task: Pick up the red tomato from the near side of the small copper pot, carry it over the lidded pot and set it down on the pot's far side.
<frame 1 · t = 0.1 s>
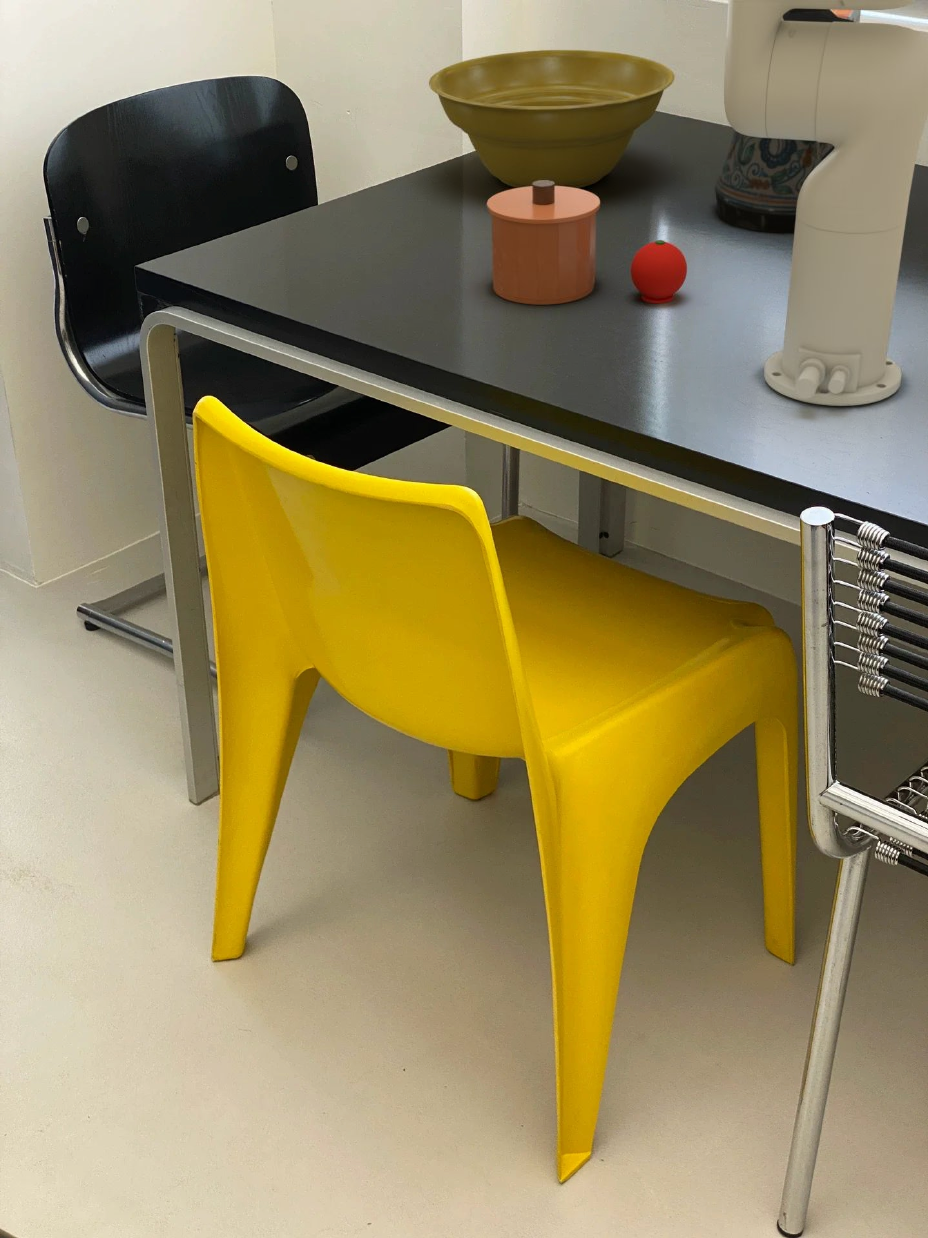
pot lid: (543, 206, 153), point 9 cm above the table, touching pot
tomato: (657, 297, 154), on the table
pot: (543, 286, 158), on the table
planter bowl: (550, 178, 194), on the table
cracker box: (818, 167, 195), on the table
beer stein: (791, 215, 177), on the table
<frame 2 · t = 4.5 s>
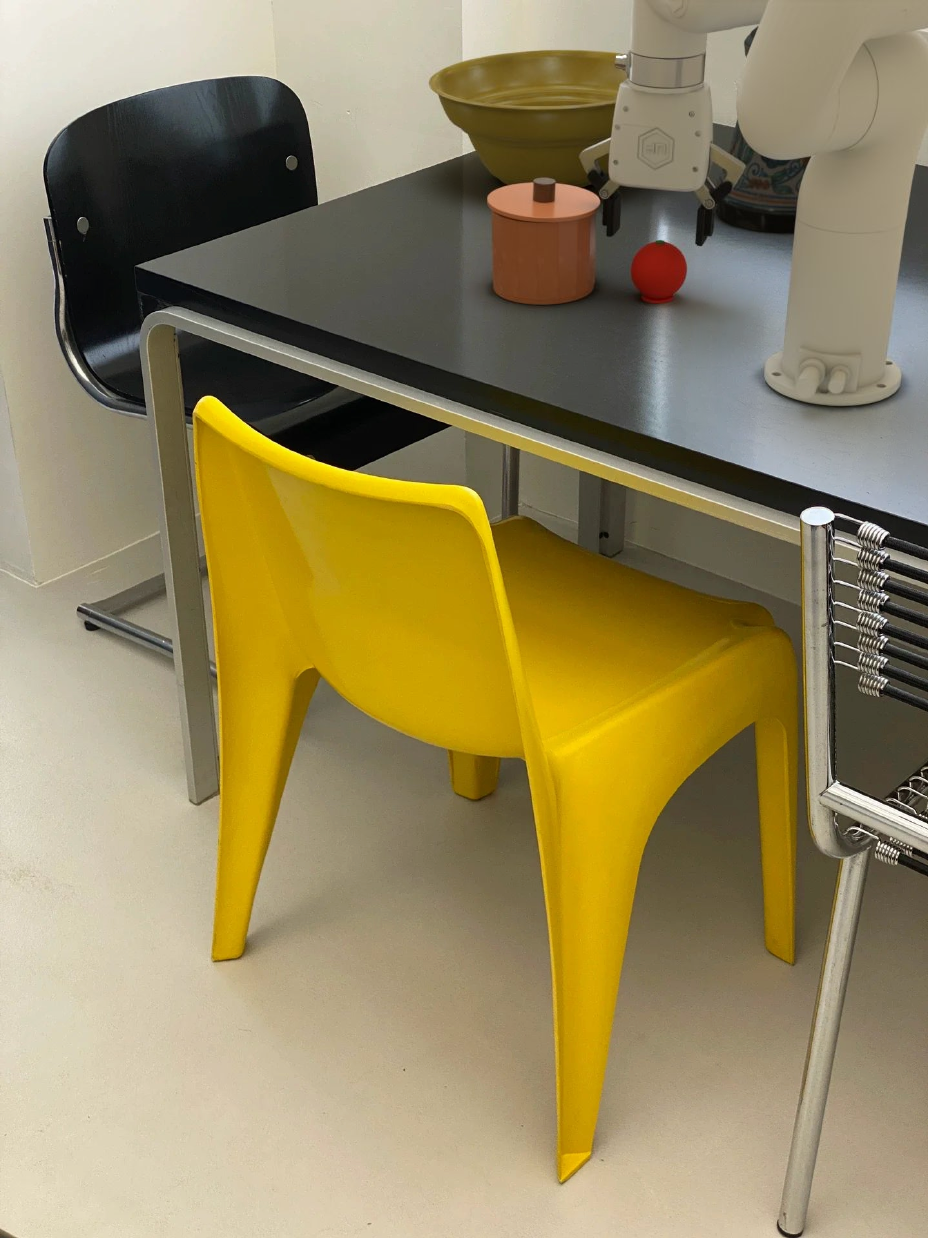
hand: (656, 237, 151), 7 cm above the table, tool pointing down, fingers open, 9 cm apart
pot lid: (543, 203, 153), point 9 cm above the table, touching gripper, pot
everything else where it was.
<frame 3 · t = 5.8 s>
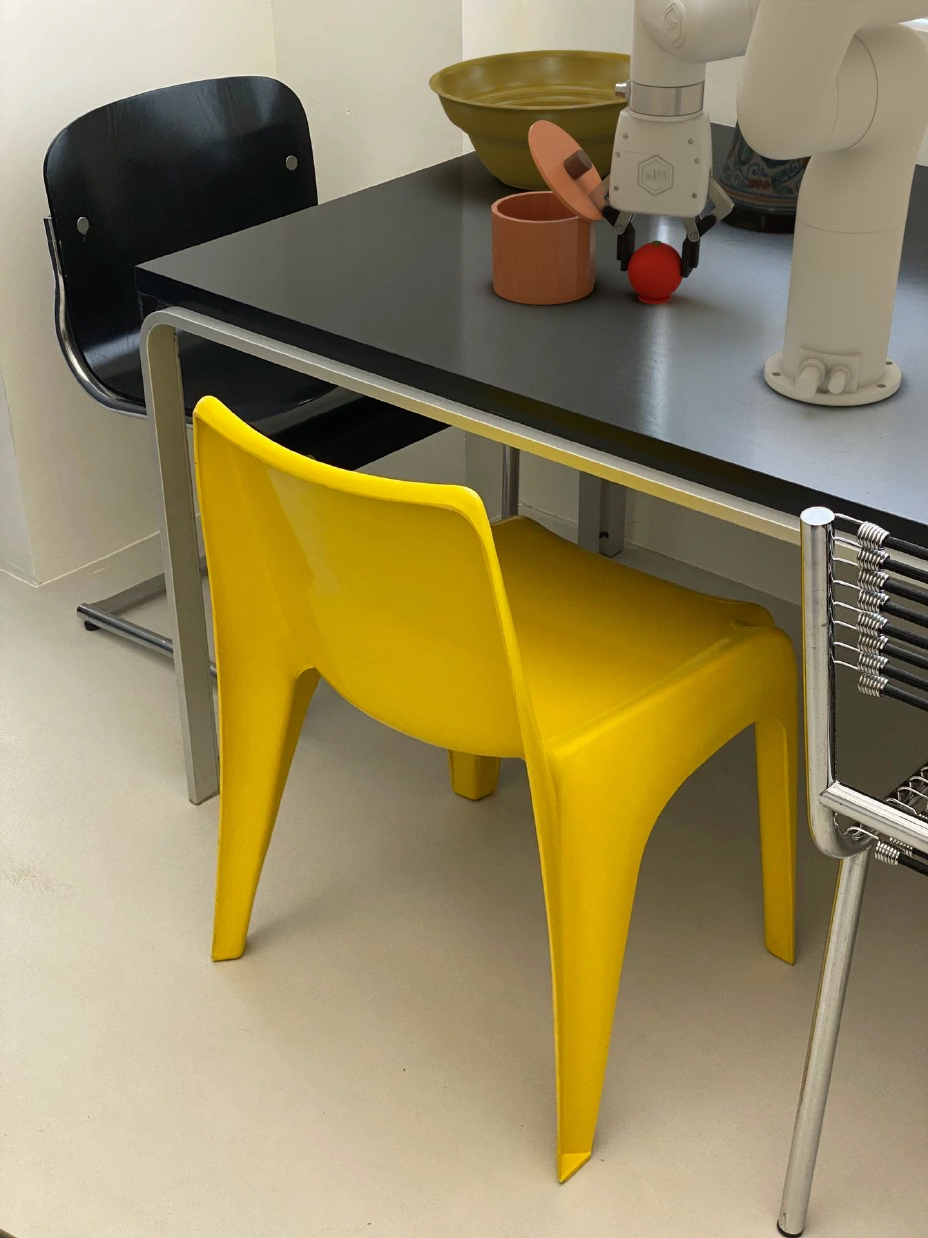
hand: (656, 268, 153), 3 cm above the table, tool pointing down, fingers closed on tomato, 6 cm apart
pot lid: (567, 172, 151), point 13 cm above the table, tilted 51°, touching gripper, pot
tomato: (654, 298, 154), on the table, touching gripper
everything else where it was.
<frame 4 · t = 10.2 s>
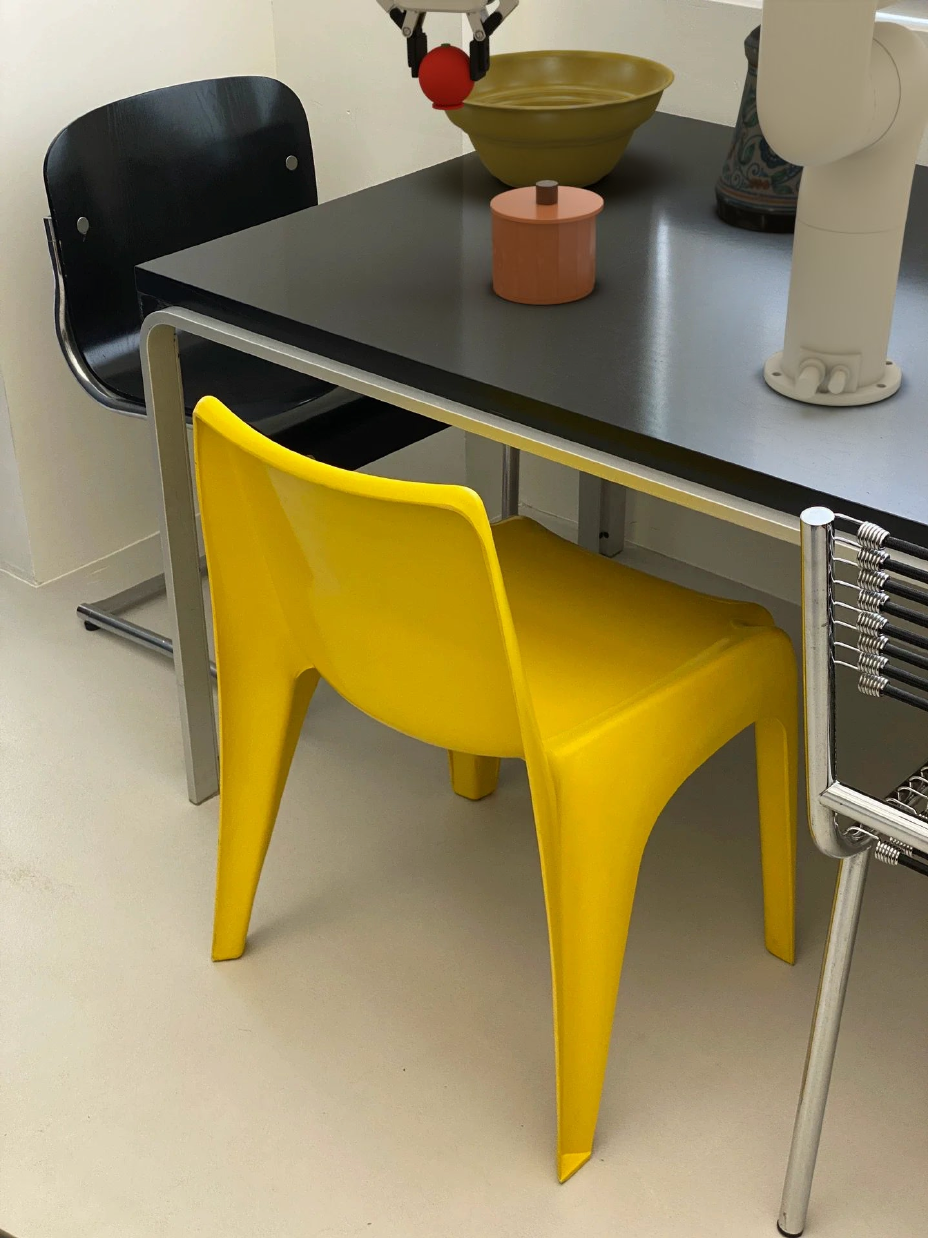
hand: (448, 74, 149), 22 cm above the table, tool pointing down, fingers closed on tomato, 5 cm apart
pot lid: (546, 206, 153), point 9 cm above the table, touching pot
tomato: (448, 106, 151), point 19 cm above the table, touching gripper
everything else where it was.
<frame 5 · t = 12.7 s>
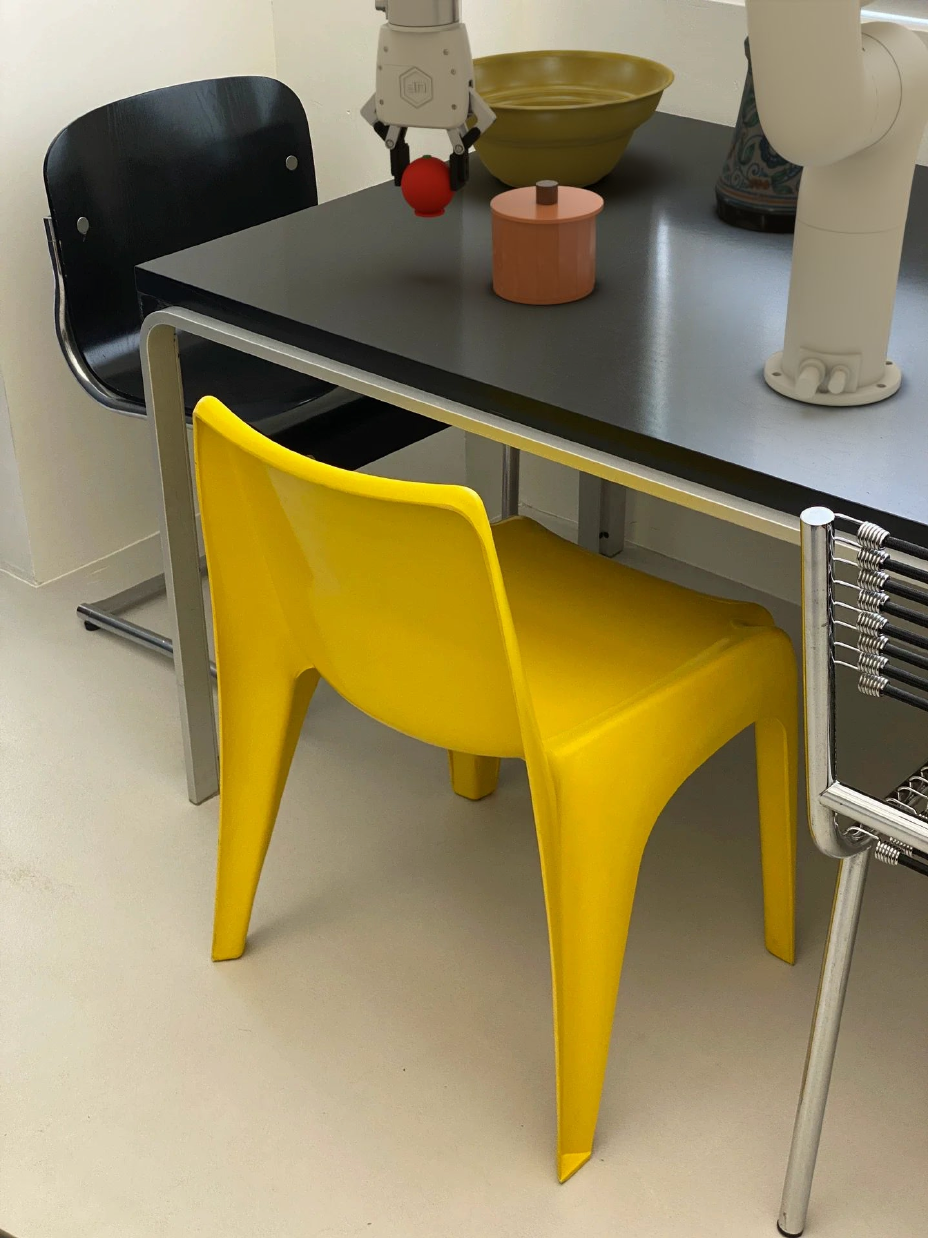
hand: (430, 183, 157), 10 cm above the table, tool pointing down, fingers closed on tomato, 5 cm apart
tomato: (429, 212, 158), point 7 cm above the table, touching gripper
everything else where it was.
when the fingers open (3 cm above the table, at t = 14.8 s): tomato stays where it is, on the table.
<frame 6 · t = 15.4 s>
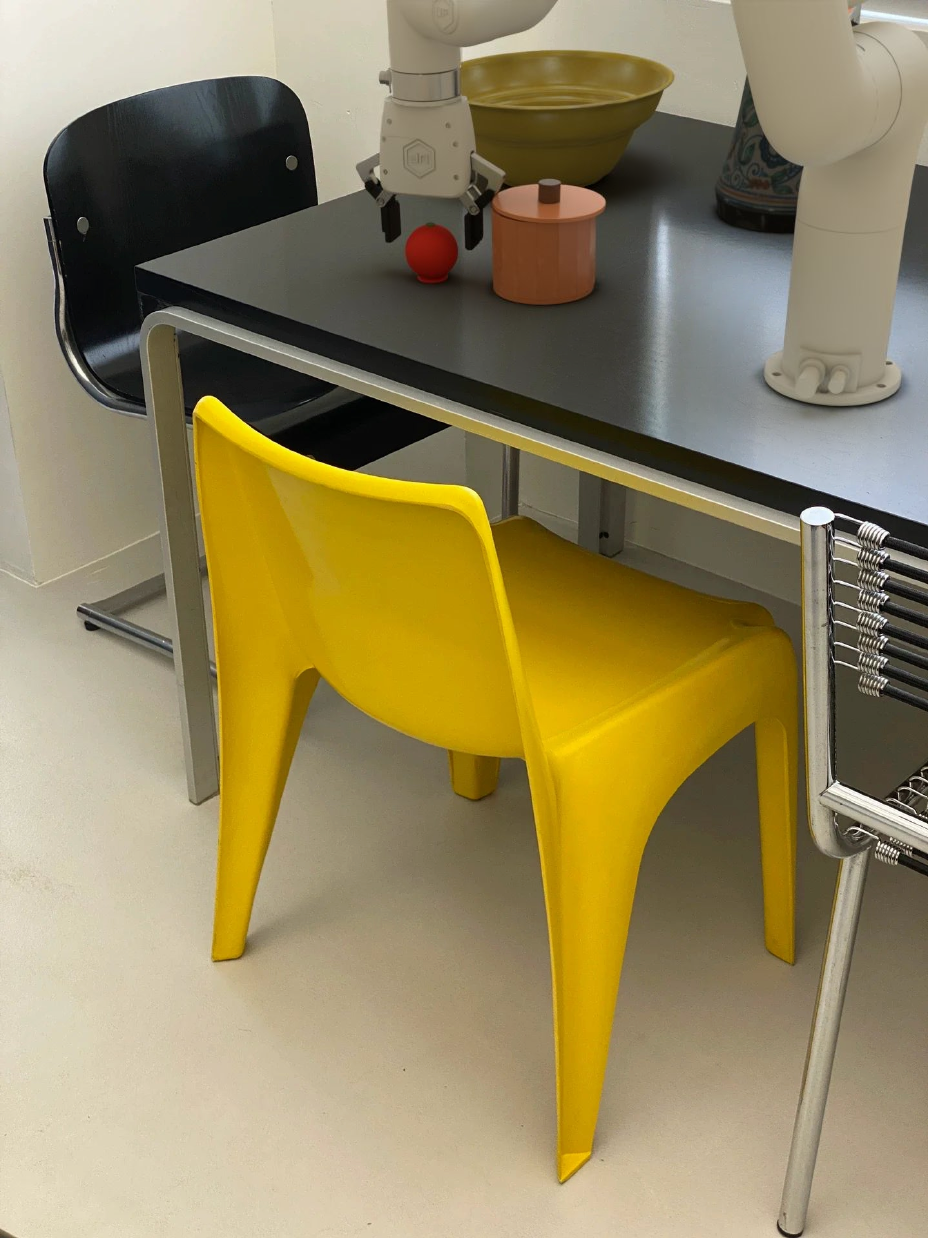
hand: (432, 242, 160), 4 cm above the table, tool pointing down, fingers open, 9 cm apart
pot lid: (548, 205, 153), point 9 cm above the table, touching gripper, pot
tomato: (432, 277, 162), on the table
everything else where it was.
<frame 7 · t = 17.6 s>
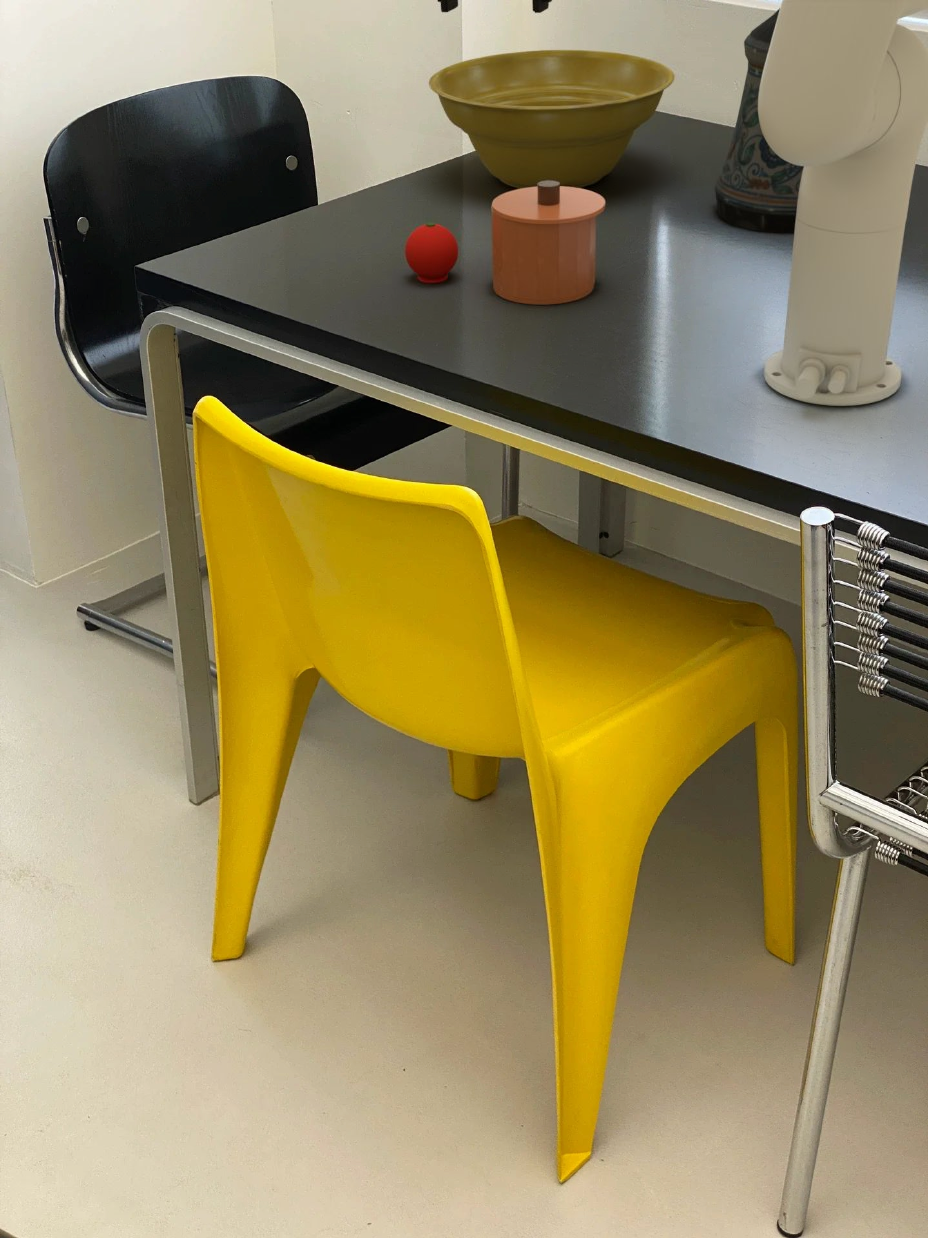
hand: (494, 9, 142), 29 cm above the table, tool pointing down, fingers open, 9 cm apart
pot lid: (548, 206, 153), point 9 cm above the table, touching pot
everything else where it was.
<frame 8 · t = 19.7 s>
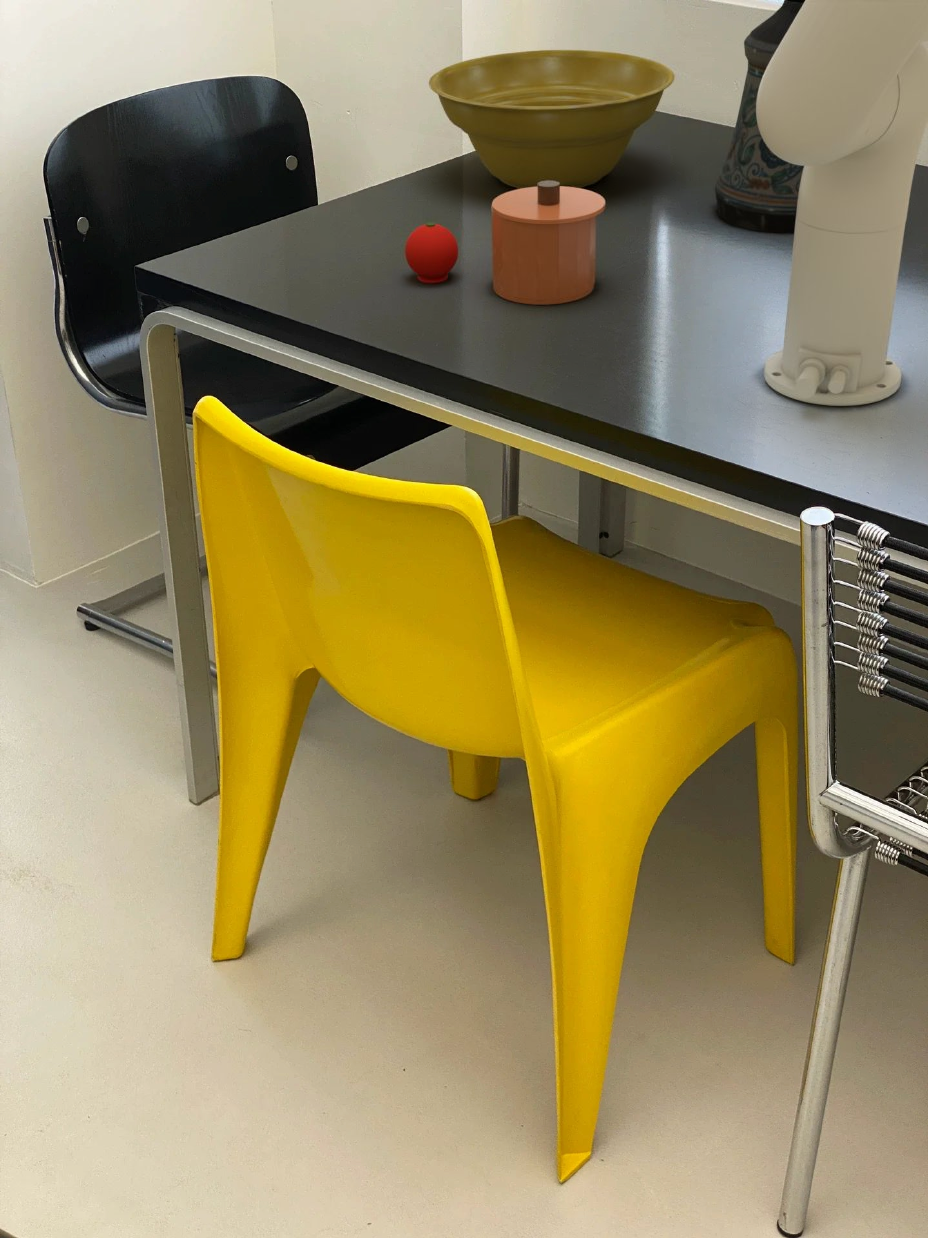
nothing on the table moved.
at the end: tomato inside the target area on the table beside the pot (0.8 cm from its centre), on the table; tomato tilted 0°; the gripper is holding nothing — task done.
